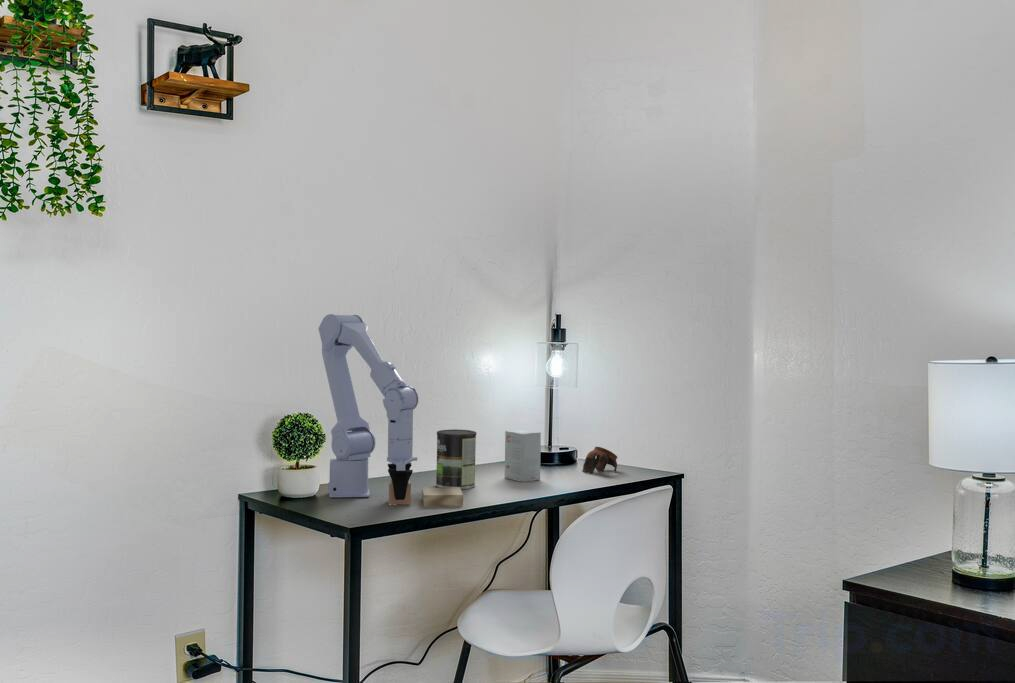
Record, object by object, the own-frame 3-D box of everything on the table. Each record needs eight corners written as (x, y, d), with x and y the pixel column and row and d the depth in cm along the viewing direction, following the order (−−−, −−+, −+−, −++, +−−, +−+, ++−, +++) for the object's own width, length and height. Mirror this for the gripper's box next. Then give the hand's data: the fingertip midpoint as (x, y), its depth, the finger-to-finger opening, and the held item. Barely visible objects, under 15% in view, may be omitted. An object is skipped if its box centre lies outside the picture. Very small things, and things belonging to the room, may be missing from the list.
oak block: (423, 508, 199) (424, 495, 199) (422, 500, 208) (422, 487, 208) (462, 507, 201) (463, 494, 200) (459, 499, 209) (459, 487, 209)
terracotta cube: (388, 505, 200) (389, 483, 200) (388, 501, 205) (388, 480, 205) (410, 505, 201) (410, 483, 201) (409, 500, 206) (410, 479, 206)
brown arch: (577, 471, 254) (589, 446, 256) (606, 485, 254) (617, 460, 256) (585, 467, 242) (597, 441, 245) (615, 482, 242) (627, 456, 244)
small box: (540, 480, 235) (541, 432, 235) (522, 482, 231) (523, 433, 231) (521, 475, 242) (522, 429, 241) (503, 478, 238) (504, 430, 237)
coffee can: (442, 490, 218) (443, 434, 218) (431, 483, 228) (432, 429, 228) (480, 488, 222) (481, 433, 222) (468, 481, 231) (469, 428, 231)
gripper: (419, 442, 196) (418, 502, 196) (416, 434, 210) (415, 490, 211) (387, 442, 195) (386, 503, 195) (386, 434, 209) (386, 490, 210)
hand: (399, 496), depth 203 cm, fingers open, 6 cm apart
